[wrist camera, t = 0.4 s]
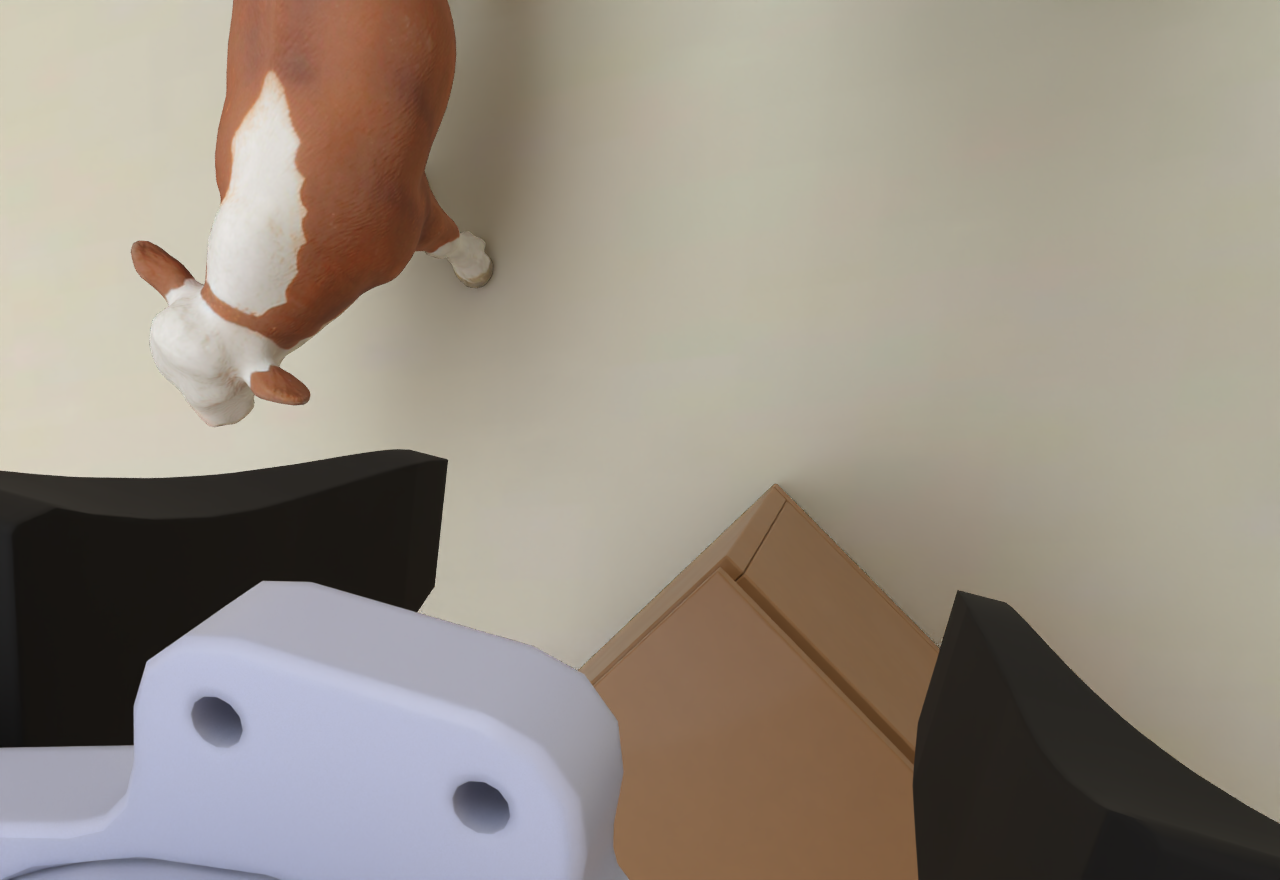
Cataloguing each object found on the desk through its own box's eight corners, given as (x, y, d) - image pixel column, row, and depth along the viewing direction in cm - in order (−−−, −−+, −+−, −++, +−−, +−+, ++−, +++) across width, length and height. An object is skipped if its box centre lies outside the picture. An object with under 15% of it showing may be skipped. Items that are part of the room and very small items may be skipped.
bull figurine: (317, 380, 27) (70, 425, 19) (414, -172, 24) (167, -387, 16) (467, 428, 26) (271, 495, 18) (587, -141, 23) (414, -354, 15)
